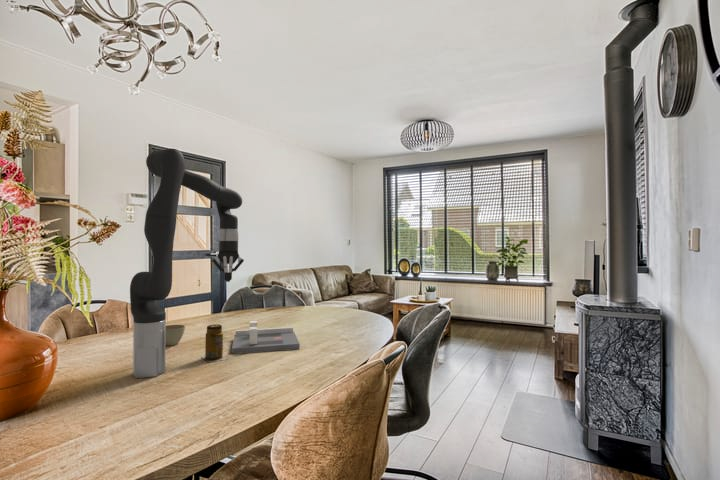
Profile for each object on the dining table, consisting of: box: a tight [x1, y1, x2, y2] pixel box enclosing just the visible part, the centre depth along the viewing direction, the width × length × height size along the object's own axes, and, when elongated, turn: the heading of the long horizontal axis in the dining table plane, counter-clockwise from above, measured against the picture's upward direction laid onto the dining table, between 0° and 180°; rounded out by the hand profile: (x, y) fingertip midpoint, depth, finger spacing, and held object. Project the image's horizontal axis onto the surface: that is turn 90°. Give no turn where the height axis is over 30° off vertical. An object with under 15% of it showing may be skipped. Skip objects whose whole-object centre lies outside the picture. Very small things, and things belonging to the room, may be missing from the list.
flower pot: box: [165, 324, 186, 346], centre depth 157 cm, size 10×10×7 cm
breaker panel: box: [231, 326, 301, 355], centre depth 158 cm, size 22×26×4 cm
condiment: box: [201, 323, 229, 363], centre depth 139 cm, size 7×8×12 cm
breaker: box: [249, 320, 258, 328], centre depth 163 cm, size 4×3×6 cm
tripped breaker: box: [249, 326, 258, 345], centre depth 151 cm, size 4×3×6 cm
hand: (228, 281), depth 156 cm, fingers closed
